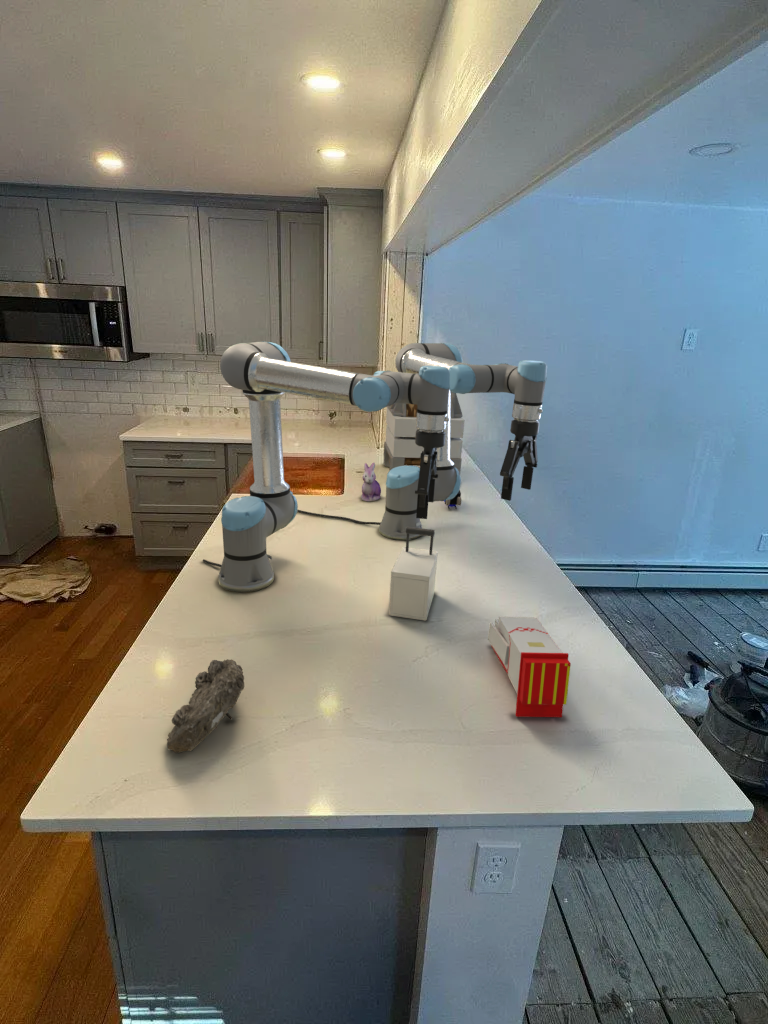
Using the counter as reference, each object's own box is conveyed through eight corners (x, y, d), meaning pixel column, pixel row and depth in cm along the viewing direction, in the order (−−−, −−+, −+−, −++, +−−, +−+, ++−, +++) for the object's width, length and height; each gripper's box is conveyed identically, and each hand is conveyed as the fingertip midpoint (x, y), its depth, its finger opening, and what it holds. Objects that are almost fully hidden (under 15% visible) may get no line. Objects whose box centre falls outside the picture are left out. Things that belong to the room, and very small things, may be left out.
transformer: (382, 463, 289) (386, 382, 275) (445, 464, 293) (451, 384, 279) (390, 482, 257) (394, 392, 243) (460, 483, 261) (468, 394, 247)
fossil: (192, 660, 117) (244, 628, 112) (224, 691, 120) (276, 661, 115) (142, 746, 98) (202, 712, 93) (182, 779, 101) (242, 748, 96)
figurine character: (461, 514, 225) (456, 498, 239) (463, 497, 222) (458, 482, 235) (444, 513, 225) (440, 498, 239) (446, 496, 222) (442, 481, 235)
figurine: (365, 503, 229) (367, 467, 224) (355, 495, 237) (356, 461, 232) (386, 500, 233) (388, 465, 228) (375, 493, 242) (376, 459, 237)
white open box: (399, 588, 161) (402, 552, 157) (434, 593, 159) (437, 557, 155) (388, 615, 147) (390, 576, 143) (426, 620, 145) (429, 581, 141)
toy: (534, 602, 136) (579, 659, 107) (529, 653, 139) (572, 723, 110) (484, 601, 136) (516, 658, 107) (480, 652, 139) (510, 722, 109)
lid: (402, 551, 158) (404, 522, 155) (437, 555, 156) (439, 527, 153) (390, 576, 143) (392, 545, 140) (429, 581, 141) (431, 550, 138)
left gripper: (440, 441, 130) (433, 527, 137) (450, 422, 153) (444, 496, 160) (408, 438, 131) (403, 524, 138) (422, 420, 154) (417, 494, 161)
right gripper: (519, 428, 142) (509, 507, 150) (555, 416, 161) (545, 487, 169) (492, 423, 146) (484, 501, 154) (530, 412, 166) (521, 481, 173)
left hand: (425, 509), depth 149 cm, fingers open, 13 cm apart
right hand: (516, 493), depth 161 cm, fingers open, 13 cm apart
